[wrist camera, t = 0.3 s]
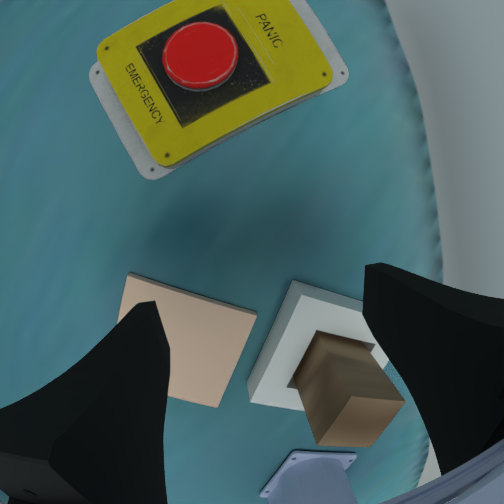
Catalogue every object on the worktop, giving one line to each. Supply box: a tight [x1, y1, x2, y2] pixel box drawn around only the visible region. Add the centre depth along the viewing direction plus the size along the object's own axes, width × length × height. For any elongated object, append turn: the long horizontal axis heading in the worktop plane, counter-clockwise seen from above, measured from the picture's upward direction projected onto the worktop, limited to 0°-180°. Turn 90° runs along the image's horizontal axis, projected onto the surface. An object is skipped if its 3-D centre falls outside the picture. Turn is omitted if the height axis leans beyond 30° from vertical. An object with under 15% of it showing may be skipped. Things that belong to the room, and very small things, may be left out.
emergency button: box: [89, 0, 349, 180], centre depth 16 cm, size 9×4×15 cm
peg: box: [293, 330, 406, 447], centre depth 19 cm, size 4×4×8 cm
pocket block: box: [247, 280, 389, 411], centre depth 22 cm, size 9×9×2 cm
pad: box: [117, 273, 257, 408], centre depth 22 cm, size 9×9×1 cm
